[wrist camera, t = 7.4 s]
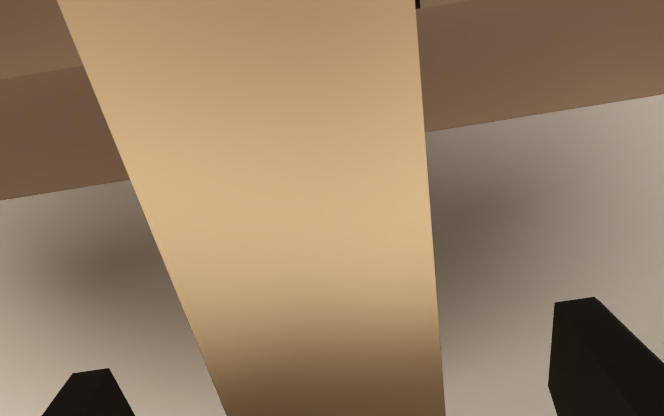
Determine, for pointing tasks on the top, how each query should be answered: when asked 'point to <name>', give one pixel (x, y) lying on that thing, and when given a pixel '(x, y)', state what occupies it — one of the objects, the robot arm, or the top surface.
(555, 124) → the top surface
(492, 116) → the stepped wooden block
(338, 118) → the rail
